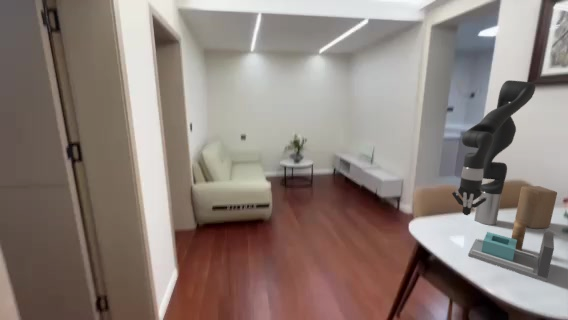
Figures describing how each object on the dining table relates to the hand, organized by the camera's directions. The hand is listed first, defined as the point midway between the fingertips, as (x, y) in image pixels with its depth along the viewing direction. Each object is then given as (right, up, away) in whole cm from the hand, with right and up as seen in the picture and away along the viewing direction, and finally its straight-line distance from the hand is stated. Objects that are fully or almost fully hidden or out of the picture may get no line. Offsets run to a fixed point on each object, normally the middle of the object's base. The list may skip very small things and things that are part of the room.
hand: (466, 214), depth 116 cm
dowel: (+22, -15, 0) cm, 27 cm away
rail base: (+11, -17, -8) cm, 22 cm away
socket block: (+9, -15, -6) cm, 19 cm away
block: (+50, -10, +22) cm, 56 cm away
